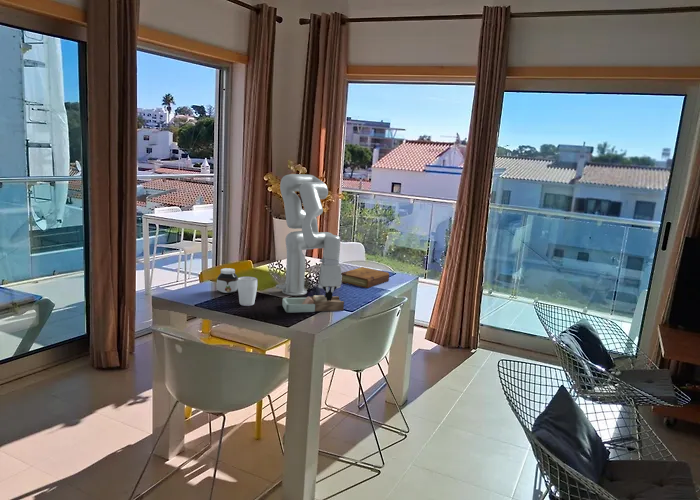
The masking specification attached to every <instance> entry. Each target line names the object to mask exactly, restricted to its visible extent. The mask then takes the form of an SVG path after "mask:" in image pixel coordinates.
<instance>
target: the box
mask: <svg viewBox="0 0 700 500" xmlns="http://www.w3.org/2000/svg"><path fill="white" fill-rule="evenodd" d="M306 298H307V297H283V298H282V304H281V305H282V307H283V309H284V311H285V312H286V313H315V312H316V311H315V304H302V303H303V302H304V301H305V299H306Z"/></svg>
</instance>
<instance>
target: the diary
mask: <svg viewBox="0 0 700 500" xmlns="http://www.w3.org/2000/svg"><path fill="white" fill-rule="evenodd" d="M389 281H390V273H389V272H388V271H387V272H386V271H383V270H377V269H373V268H367V267H363V266H362V267H357V268H355V269H350V270H347V271H343V272H341V283H344V284H347V283H348V285H351V284H352V286H357V287H360V288H365V289H369V288H372V287H374V286H379V285H381V284H384V282H385V283H387V282H389Z"/></svg>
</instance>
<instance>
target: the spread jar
mask: <svg viewBox="0 0 700 500" xmlns="http://www.w3.org/2000/svg"><path fill="white" fill-rule="evenodd" d="M238 278H239V277H238V275H237V274H236V270H235V268H232V267H231V268H230V267H229V268H227V267H225V268H221V269H220V274H218V276H217V278H216V289H217V292H218V293H220V294H221V295H226V294H229V295H234V294H235V293H236V292H238Z"/></svg>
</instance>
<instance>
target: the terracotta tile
mask: <svg viewBox="0 0 700 500" xmlns="http://www.w3.org/2000/svg"><path fill="white" fill-rule="evenodd" d="M310 297H311V296H307V297H305V298H306V299H305V301H304V302H303V303H302V304H314V301H313V299H312V298H310Z"/></svg>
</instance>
